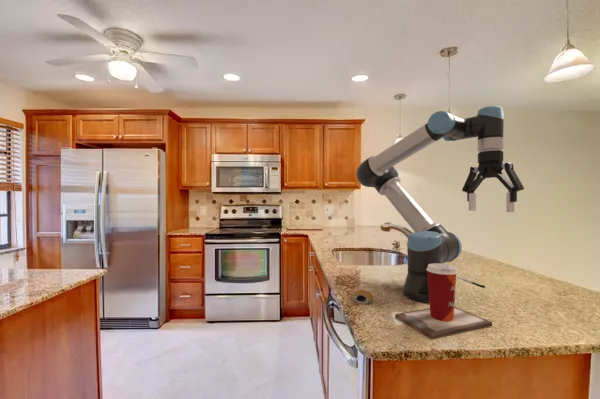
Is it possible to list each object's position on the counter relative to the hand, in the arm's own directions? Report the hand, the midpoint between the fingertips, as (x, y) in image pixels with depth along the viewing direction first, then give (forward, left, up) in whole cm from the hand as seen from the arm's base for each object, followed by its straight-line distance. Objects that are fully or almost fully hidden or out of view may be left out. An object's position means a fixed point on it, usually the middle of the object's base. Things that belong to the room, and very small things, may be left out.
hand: (490, 211), depth 98 cm
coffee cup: (+7, -30, -31) cm, 43 cm away
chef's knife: (-20, +15, -32) cm, 41 cm away
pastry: (-16, -42, -32) cm, 55 cm away
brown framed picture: (+7, -30, -32) cm, 44 cm away
